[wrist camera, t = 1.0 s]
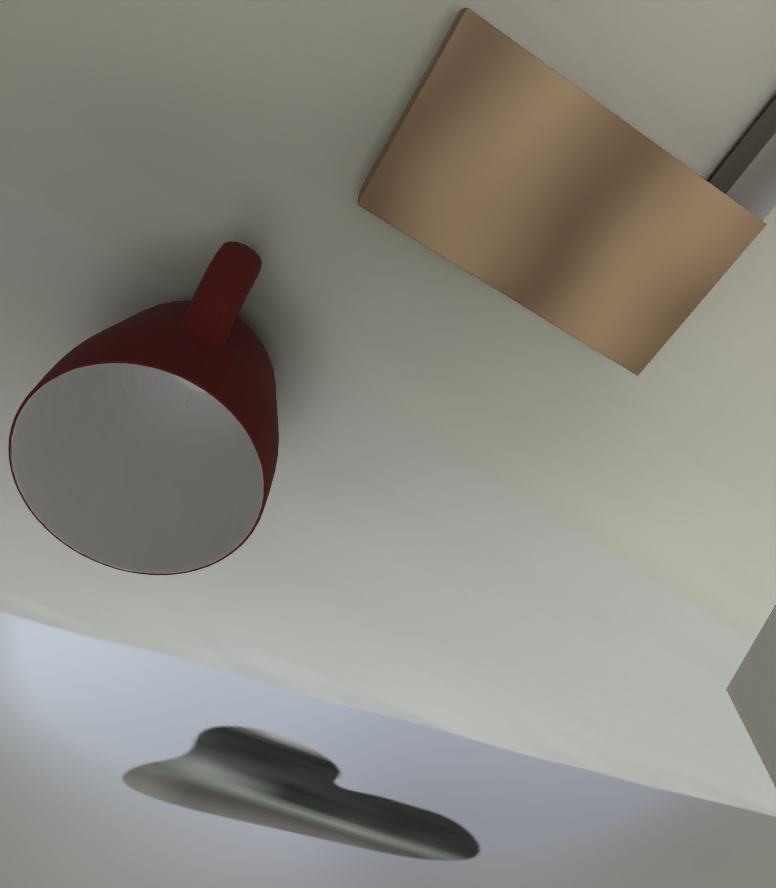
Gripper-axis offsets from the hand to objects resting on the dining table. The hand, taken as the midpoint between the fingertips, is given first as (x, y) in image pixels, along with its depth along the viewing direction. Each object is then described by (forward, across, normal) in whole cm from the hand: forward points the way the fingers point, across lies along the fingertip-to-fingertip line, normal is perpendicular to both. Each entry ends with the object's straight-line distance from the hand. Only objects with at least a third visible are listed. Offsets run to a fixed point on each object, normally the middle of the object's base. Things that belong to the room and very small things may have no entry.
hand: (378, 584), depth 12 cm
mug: (+20, -6, -5) cm, 22 cm away
